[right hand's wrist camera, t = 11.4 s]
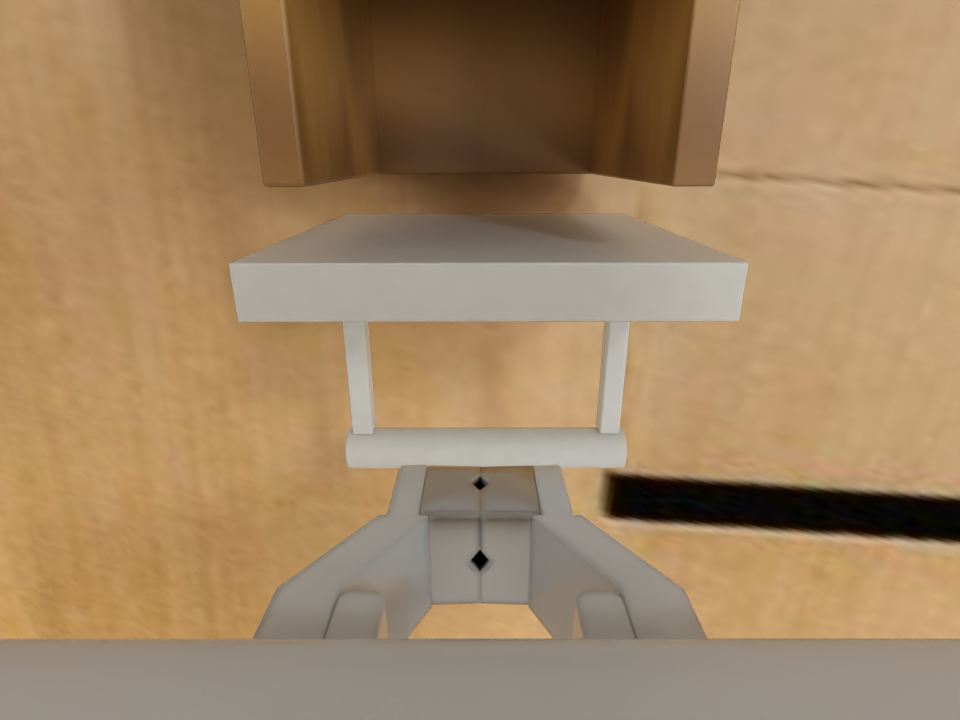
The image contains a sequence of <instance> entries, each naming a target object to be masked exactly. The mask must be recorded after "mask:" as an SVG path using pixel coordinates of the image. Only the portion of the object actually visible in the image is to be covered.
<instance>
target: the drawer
mask: <svg viewBox="0 0 960 720" xmlns="http://www.w3.org/2000/svg"><path fill="white" fill-rule="evenodd" d="M239 3H240V11H241V18H242V26H243V33H244V41H245V48H246V55H247V63H248V70H249V78H250V85H251V93H252V100H253V108H254V115H255V123H256V130H257V138H258V145H259V152H260V160H261V167H262V175H263V182H264V184H265V186H267V187H305V186H311V185H317V184H323V183H329V182H335V181H341V180H347V179H353V178H359V177H365V176H371V175H377V174H596V175H602V176H609V177H615V178H622V179H629V180H635V181H642V182H649V183H655V184H662V185H668V186H713V185H714V183H715V176H716V169H717V162H718V155H719V148H720V141H721V133H722V126H723V119H724V112H725V105H726V98H727V91H728V84H729V77H730V70H731V63H732V56H733V48H734V41H735V34H736V27H737V20H738V13H739V6H740V0H239ZM229 269H230V275H231V282H232V288H233V294H234V300H235V306H236V312H237V318H238V322H343V333H344V344H345V354H346V365H347V376H348V386H349V397H350V408H351V418H352V428H351V429H349V431H348V434H347V438H346V446H345V455H346V462H347V466H348V467H349V468H400V467H401V466H402V465H427V466H429V465H443V466H480V467H493V466H536V465H559V466H560V467H561V468H623V467H624V466H625V463H626V458H627V443H626V437H625V433H624V431H623V429H622V428H620V419H621V408H622V398H623V388H624V378H625V368H626V357H627V347H628V337H629V327H630V322H726V321H739V317H740V312H741V306H742V300H743V294H744V288H745V282H746V276H747V270H748V262H745V261H743V260H740V259H738V258H735V257H733V256H730V255H728V254H725V253H723V252H720V251H718V250H715V249H712V248H710V247H707V246H705V245H702V244H700V243H697V242H695V241H692V240H690V239H687V238H685V237H682V236H679V235H677V234H674V233H672V232H669V231H667V230H664V229H662V228H659V227H657V226H654V225H652V224H649V223H646V222H644V221H641V220H639V219H636V218H634V217H631V216H629V215H626V214H345V215H343V216H340V217H338V218H336V219H333V220H331V221H329V222H326V223H324V224H321V225H319V226H317V227H314V228H312V229H310V230H307V231H305V232H303V233H300V234H298V235H295V236H293V237H291V238H288V239H286V240H284V241H281V242H279V243H277V244H274V245H272V246H269V247H267V248H265V249H262V250H260V251H258V252H255V253H253V254H251V255H248V256H246V257H243V258H241V259H239V260H236V261H234V262H232V263H229ZM368 322H604V332H603V344H602V356H601V369H600V381H599V394H598V406H597V418H596V425H597V428H375V426H376V418H375V405H374V392H373V379H372V366H371V353H370V340H369V327H368Z"/></svg>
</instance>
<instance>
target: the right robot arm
mask: <svg viewBox="0 0 960 720" xmlns="http://www.w3.org/2000/svg"><path fill="white" fill-rule="evenodd" d="M474 603H485V604H521V605H529V608H530V609H531V610H532V612H533V613H534V614H535V616H536V617H537V618H538V619H539V621H540V622H541V623H542V625H543V626H544V627H545V628H546V630H547V631H548V632H549V633H550V635H551V636H552V637H553V639H407V638H408V636H409V635H410V634H411V633H412V631H413V630H414V629H415V628H416V626H417V625H418V624H419V622H420V621H421V620H422V619H423V617H424V616H425V615H426V614H427V612H428V611H429V610H430V608H431V605H439V604H474ZM0 720H960V639H707V637H706V635H705V633H704V631H703V629H702V626H701V624H700V622H699V620H698V618H697V616H696V614H695V612H694V610H693V607H692V605H691V603H690V601H689V599H688V597H687V595H686V593H685V590H684V589H683V588H682V587H680V586H679V585H677V584H676V583H675V582H673V581H672V580H670V579H669V578H668V577H666V576H665V575H663V574H662V573H661V572H659V571H658V570H657V569H655V568H654V567H652V566H651V565H650V564H648V563H647V562H645V561H644V560H643V559H641V558H640V557H638V556H637V555H636V554H634V553H633V552H631V551H630V550H629V549H627V548H626V547H624V546H623V545H622V544H620V543H619V542H617V541H616V540H615V539H613V538H612V537H611V536H609V535H608V534H606V533H605V532H604V531H602V530H601V529H599V528H598V527H597V526H595V525H594V524H592V523H591V522H590V521H588V520H587V519H585V518H584V517H583V516H581V515H573V512H572V508H571V505H570V501H569V497H568V493H567V490H566V486H565V482H564V478H563V475H562V471H561V467H560V466H559V465H536V466H493V467H480V466H443V465H429V466H427V465H402V466H401V467H400V468H399V470H398V474H397V478H396V482H395V486H394V489H393V493H392V497H391V501H390V504H389V508H388V512H387V515H379V516H377V517H376V518H375V519H373V520H372V521H370V522H369V523H368V524H366V525H365V526H363V527H362V528H361V529H359V530H358V531H356V532H355V533H354V534H352V535H351V536H349V537H348V538H347V539H345V540H344V541H342V542H341V543H340V544H338V545H337V546H335V547H334V548H333V549H331V550H330V551H328V552H327V553H326V554H324V555H323V556H321V557H320V558H319V559H317V560H316V561H314V562H313V563H312V564H310V565H309V566H307V567H306V568H305V569H303V570H302V571H300V572H299V573H298V574H296V575H295V576H293V577H292V578H291V579H289V580H288V581H286V582H285V583H284V584H282V585H281V586H279V587H278V588H277V589H276V591H275V593H274V595H273V597H272V599H271V602H270V604H269V606H268V608H267V610H266V612H265V614H264V616H263V618H262V620H261V622H260V625H259V627H258V629H257V631H256V633H255V635H254V637H253V639H0Z"/></svg>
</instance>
